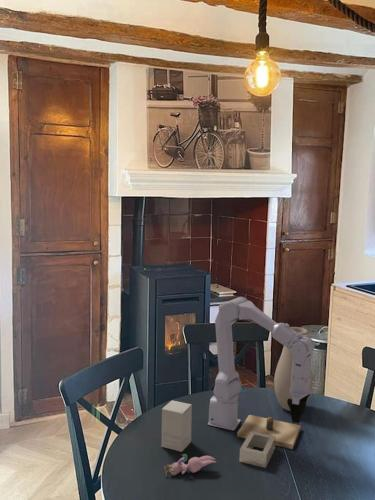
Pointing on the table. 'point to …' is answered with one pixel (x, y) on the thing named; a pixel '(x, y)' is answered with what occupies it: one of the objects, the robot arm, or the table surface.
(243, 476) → the table surface
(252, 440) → the beige hollow boxy piece
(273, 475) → the table surface
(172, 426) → the supplement box
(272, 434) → the board
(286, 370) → the vase
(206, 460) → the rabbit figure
